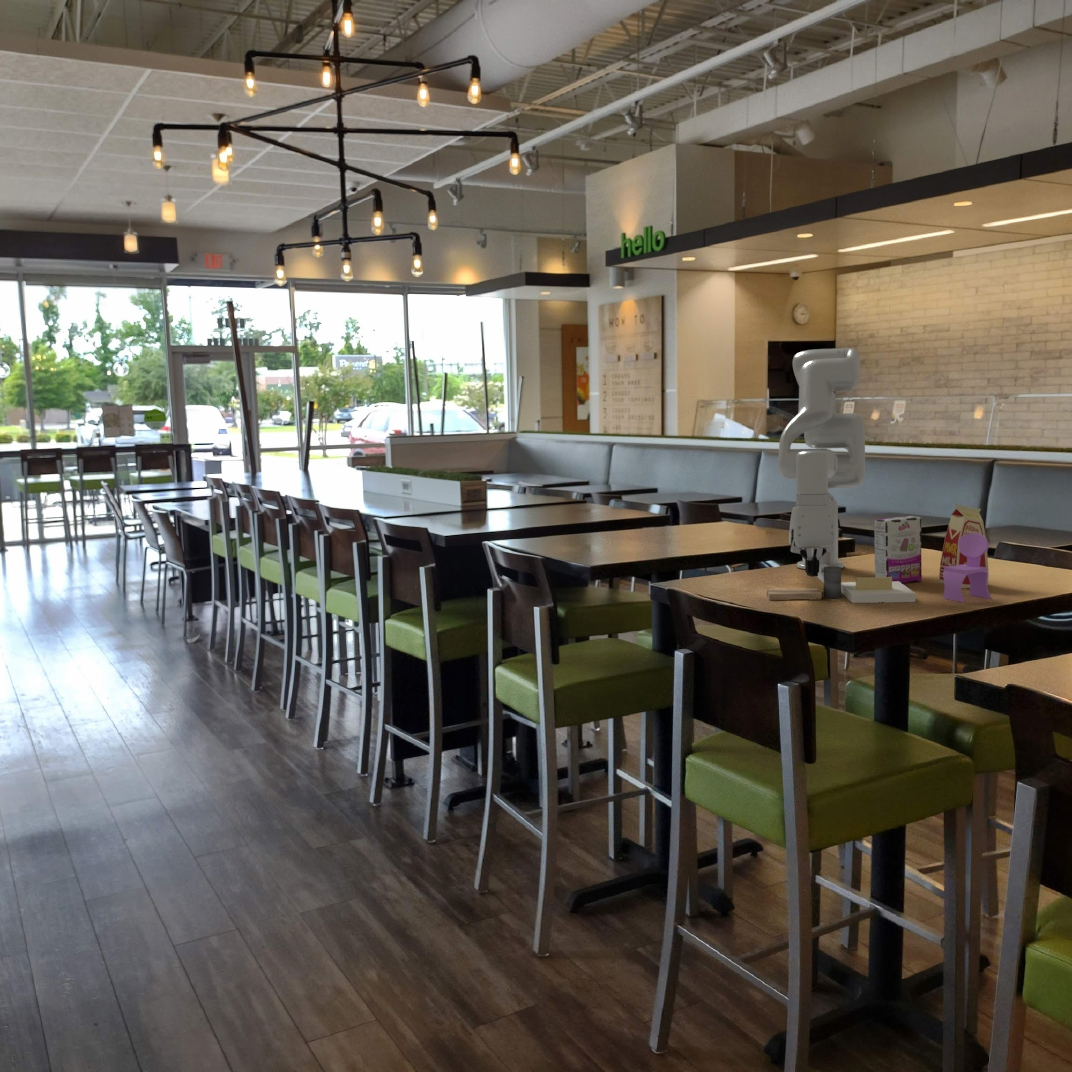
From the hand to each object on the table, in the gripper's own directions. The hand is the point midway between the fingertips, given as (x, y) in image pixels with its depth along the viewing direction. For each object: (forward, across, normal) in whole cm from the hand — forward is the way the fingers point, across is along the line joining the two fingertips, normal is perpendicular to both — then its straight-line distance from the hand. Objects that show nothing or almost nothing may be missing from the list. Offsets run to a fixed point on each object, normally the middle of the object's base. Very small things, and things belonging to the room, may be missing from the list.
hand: (812, 575), depth 248 cm
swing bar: (+1, -3, +1) cm, 3 cm away
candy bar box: (+4, -24, -4) cm, 25 cm away
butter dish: (+4, -11, +12) cm, 16 cm away
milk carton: (+4, -38, +4) cm, 38 cm away
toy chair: (+4, -28, +21) cm, 35 cm away
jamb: (+4, +5, +7) cm, 10 cm away
